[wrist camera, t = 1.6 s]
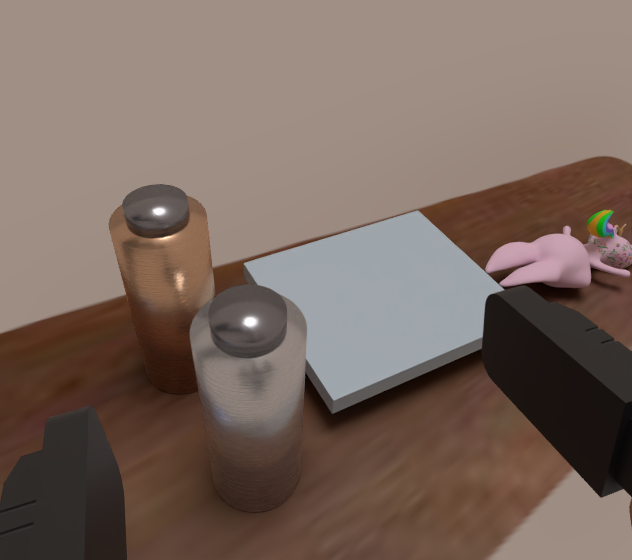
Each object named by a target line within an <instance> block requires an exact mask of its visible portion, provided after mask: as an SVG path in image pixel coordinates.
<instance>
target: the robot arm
mask: <svg viewBox="0 0 632 560" xmlns="http://www.w3.org/2000/svg"><path fill="white" fill-rule="evenodd" d="M482 360H483V364H484V367H485V369H486V371H487V373H488V375H489V377H490V378H491V379H492V381H493V382H494V383H495V384H496V385H497V386H498V387H499V388H500V389H501V390H502V392H503V393H504V394H505V395H506V396H507V397H508V398H509V399H510V400H511V401H512V402H513V403H514V404H515V406H516V407H517V408H518V409H519V410H520V411H521V412H522V413H523V414H524V415H525V416H526V417H527V419H528V420H529V421H530V422H531V423H532V424H533V425H534V426H535V427H536V428H537V429H538V430H539V432H540V433H541V434H542V435H543V436H544V437H545V438H546V439H547V440H548V441H549V442H550V443H551V444H552V446H553V447H554V448H555V449H556V450H557V451H558V452H559V453H560V454H561V455H562V456H563V457H564V459H565V460H566V461H567V462H568V463H569V464H570V465H571V466H572V467H573V468H574V469H575V470H576V471H577V472H578V474H579V475H580V476H581V477H582V478H583V479H584V480H585V481H586V482H587V483H588V484H589V485H590V487H591V488H592V489H593V490H594V491H595V492H596V493H597V494H598V495H599V496H600V497H601V498H602V497H604V496H607V495H609V494H612V493H614V492H617V491H619V490H622V489H624V490H625V491H626V492H627V493H628V494H629V495H630V496H631V497H632V351H630V350H629V349H628V348H626V347H625V346H624V345H622V344H621V343H620V342H618V341H617V342H615V341H614V338H613V337H612V336H610V335H609V334H608V333H606V332H605V331H604V330H602V329H600V330H599V329H598V326H597V325H595V324H594V323H593V322H591V321H590V320H589V319H587V318H586V317H585V316H583V315H582V314H581V313H579V312H578V311H575V310H573V309H570V308H568V307H565V306H563V305H560V304H558V303H555V302H553V301H552V302H547V301H546V300H545V299H543V298H542V297H541V296H540V295H538V294H537V293H536V292H534V291H533V290H532V289H530V288H529V287H527V286H523V285H522V286H518V287H514V288H510V289H507V290H503V291H500V292H496V293H493V294H490V295H489V296H488V297H487V299H486V302H485V312H484V325H483V338H482ZM629 508H630V518H631V525H632V499H631V502H630V506H629ZM0 560H127V550H126V527H125V504H124V490H123V484H122V479H121V475H120V471H119V467H118V464H117V462H116V459H115V457H114V454H113V452H112V449H111V447H110V444H109V442H108V440H107V437H106V435H105V432H104V430H103V427H102V425H101V423H100V420H99V418H98V415H97V413H96V411H95V409H94V408H93V407H92V406H88V407H85V408H81V409H78V410H74V411H71V412H67V413H64V414H60V415H57V416H53V417H49V418H48V419H47V421H46V425H45V432H44V441H43V449H42V450H41V451H38V452H34V453H31V454H27V455H24V456H21V457H20V459H19V461H18V462H17V464H16V465H15V467H14V468H13V470H12V472H11V473H10V475H9V476H8V478H7V480H6V481H5V483H4V485H3V491H2V496H1V502H0Z"/></svg>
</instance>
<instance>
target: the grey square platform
mask: <svg viewBox="0 0 632 560" xmlns="http://www.w3.org/2000/svg"><path fill="white" fill-rule="evenodd" d="M244 277H245V279H246V280H247V282H248V283H249V284H251V285H260V286H264V287H267V288H270V289H272V290H273V291H275V292H277V293H278V294H280V295H282V296H284V297H286V298H288V299H289V300H291V301H292V302H293V303H294V304H295V305H296V306H297V307H298V308H299V309H300V310H301V312H302V313H303V315H304V317H305V320H306V324H307V344H306V365H305V372H306V374H307V375H308V377H309V378H310V380H311V382H312V383H313V385H314V386H315V388H316V389H317V391H318V393H319V394H320V396H321V397H322V399H323V400H324V402H325V403H326V405H327V407H328V408H329V410H330V411H331V413H332V414H333V413H335V412H338V411H340V410H342V409H345V408H347V407H349V406H351V405H354V404H356V403H358V402H361V401H363V400H365V399H367V398H370V397H372V396H374V395H377V394H379V393H381V392H383V391H386V390H388V389H390V388H393V387H395V386H397V385H399V384H402V383H404V382H406V381H409V380H411V379H413V378H415V377H418V376H420V375H422V374H425V373H427V372H429V371H431V370H434V369H436V368H438V367H441V366H443V365H445V364H447V363H450V362H452V361H454V360H457V359H459V358H461V357H463V356H466V355H468V354H470V353H473V352H475V351H477V350H479V349H482V338H483V325H484V312H485V302H486V299H487V297H488V296H489V295H490V294H493V293H496V292H500V291H503V290H504V289H503V288H502V287H501V286H500V285H499V284H498V283H496V282H495V281H494V280H493V279H492V278H491V277H490V276H489V275H488V274H487V273H486V272H484V271H483V270H482V269H481V268H480V267H479V266H478V265H477V264H476V263H475V262H474V261H472V260H471V259H470V258H469V257H468V256H467V255H466V254H465V253H464V252H463V251H461V250H460V249H459V248H458V247H457V246H456V245H455V244H454V243H453V242H452V241H451V240H449V239H448V238H447V237H446V236H445V235H444V234H443V233H442V232H441V231H440V230H439V229H437V228H436V227H435V226H434V225H433V224H432V223H431V222H430V221H429V220H428V219H426V218H425V217H424V216H423V215H422V214H421V213H420V212H419V211H415V212H411V213H408V214H405V215H401V216H398V217H395V218H391V219H388V220H385V221H382V222H378V223H375V224H372V225H368V226H365V227H362V228H358V229H355V230H352V231H349V232H345V233H342V234H339V235H335V236H332V237H329V238H325V239H322V240H319V241H316V242H312V243H309V244H306V245H302V246H299V247H296V248H292V249H289V250H286V251H283V252H279V253H276V254H273V255H269V256H266V257H263V258H259V259H256V260H253V261H250V262H246V263H244Z"/></svg>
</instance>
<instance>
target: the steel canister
mask: <svg viewBox="0 0 632 560" xmlns="http://www.w3.org/2000/svg"><path fill="white" fill-rule="evenodd" d="M190 342H191V348H192V354H193V360H194V366H195V372H196V378H197V384H198V391H199V397H200V403H201V409H202V415H203V421H204V427H205V433H206V439H207V445H208V452H209V458H210V464H211V470H212V476H213V482H214V485H215V488H216V490H217V492H218V494H219V495H220V497H221V498H222V499H223V500H224V501H225V502H226V503H227V504H229V505H230V506H232V507H233V508H236V509H238V510H241V511H245V512H264V511H268V510H271V509H273V508H275V507H277V506H279V505H281V504H282V503H284V502H285V501H286V500H287V499H288V498H289V497H290V496H291V495H292V493H293V492H294V490H295V489H296V487H297V484H298V482H299V478H300V469H301V448H302V427H303V406H304V386H305V365H306V344H307V324H306V320H305V317H304V315H303V313H302V312H301V310H300V309H299V308H298V307H297V306H296V305H295V304H294V303H293V302H292V301H291V300H289V299H288V298H286V297H284V296H282V295H280V294H278V293H277V292H275V291H273V290H272V289H270V288H267V287H264V286H260V285H251V284H248V285H239V286H235V287H232V288H229V289H227V290H225V291H223V292H221V293H220V294H219V295H218V296H217V297H215V298H214V299H212V300H210V301H209V302H208V303H206V304H205V305H204V306H203V307H202V308H201V309H200V310H199V311H198V312H197V314H196V315H195V317H194V319H193V321H192V324H191V327H190Z"/></svg>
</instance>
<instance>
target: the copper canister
mask: <svg viewBox="0 0 632 560" xmlns="http://www.w3.org/2000/svg"><path fill="white" fill-rule="evenodd" d="M109 230H110V234H111V238H112V241H113V245H114V249H115V253H116V256H117V260H118V265H119V268H120V272H121V276H122V280H123V284H124V288H125V292H126V296H127V299H128V303H129V307H130V311H131V315H132V319H133V323H134V327H135V330H136V334H137V338H138V342H139V346H140V350H141V354H142V357H143V361H144V365H145V369H146V373H147V376H148V379H149V380H150V382H151V383H152V384H153V385H154V386H155V387H156V388H158V389H159V390H161V391H164V392H167V393H171V394H188V393H192V392H196V391H198V384H197V378H196V372H195V366H194V360H193V354H192V348H191V342H190V327H191V324H192V321H193V319H194V317H195V315H196V314H197V312H198V311H199V310H200V309H201V308H202V307H203V306H204V305H205V304H206V303H208V302H209V301H210V300H212V299H214V298H215V297H216V296H215V287H214V277H213V268H212V260H211V251H210V241H209V231H208V223H207V214H206V211H205V208H204V207H203V206H202V205H201V204H200V203H199V202H198V201H197V200H195V199H193V198H191V197H189V196H187V195H186V194H185V193H184V192H183V191H182V190H181V189H179V188H177V187H174V186H170V185H163V184H157V185H149V186H144V187H141V188H138V189H136V190H134V191H132V192H131V193H130V194H128V195H127V196H126V197H125V199H124V200H123V204H122V205H121V206H120V207H118V208H117V209H116V210H115V211H114V212H113V214H112V215H111V218H110V220H109Z"/></svg>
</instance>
